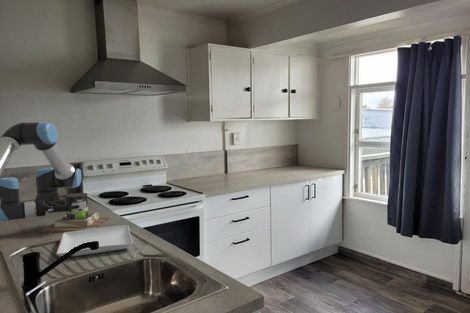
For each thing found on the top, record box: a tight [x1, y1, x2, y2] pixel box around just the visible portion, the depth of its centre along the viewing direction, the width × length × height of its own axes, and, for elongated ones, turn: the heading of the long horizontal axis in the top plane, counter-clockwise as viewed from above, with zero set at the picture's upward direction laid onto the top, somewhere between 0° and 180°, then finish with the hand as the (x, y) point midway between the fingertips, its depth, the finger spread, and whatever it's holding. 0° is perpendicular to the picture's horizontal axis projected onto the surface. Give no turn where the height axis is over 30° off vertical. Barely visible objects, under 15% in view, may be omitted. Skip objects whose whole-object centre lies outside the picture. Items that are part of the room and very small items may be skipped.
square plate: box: [55, 224, 134, 258], centre depth 148 cm, size 27×27×4 cm
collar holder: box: [40, 211, 112, 233], centre depth 178 cm, size 24×24×4 cm
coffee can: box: [64, 192, 89, 220], centre depth 178 cm, size 10×10×14 cm
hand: (84, 202), depth 179 cm, fingers open, 12 cm apart
